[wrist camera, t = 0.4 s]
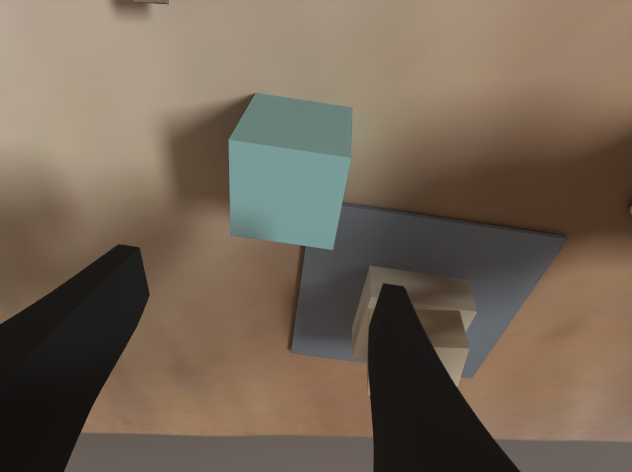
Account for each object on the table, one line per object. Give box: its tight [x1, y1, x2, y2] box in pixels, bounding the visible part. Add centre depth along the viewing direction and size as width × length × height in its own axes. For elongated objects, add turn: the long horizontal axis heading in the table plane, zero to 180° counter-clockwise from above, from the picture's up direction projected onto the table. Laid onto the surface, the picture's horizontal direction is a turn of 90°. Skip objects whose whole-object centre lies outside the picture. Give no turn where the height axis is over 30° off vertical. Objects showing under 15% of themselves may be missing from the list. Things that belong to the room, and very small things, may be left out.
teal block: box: [229, 93, 352, 250], centre depth 18 cm, size 4×4×5 cm
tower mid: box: [367, 308, 470, 396], centre depth 23 cm, size 5×5×2 cm
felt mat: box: [291, 203, 567, 378], centre depth 26 cm, size 14×14×1 cm
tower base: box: [352, 266, 477, 361], centre depth 25 cm, size 6×6×2 cm
